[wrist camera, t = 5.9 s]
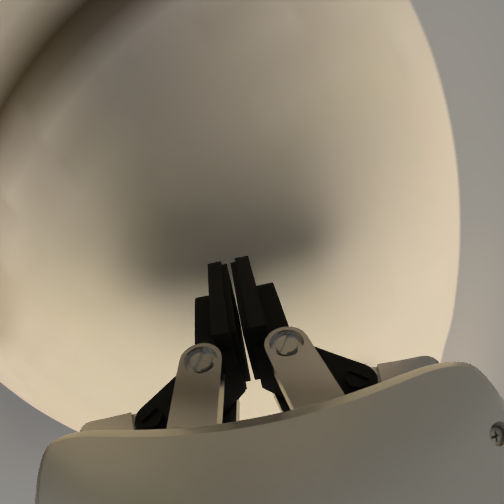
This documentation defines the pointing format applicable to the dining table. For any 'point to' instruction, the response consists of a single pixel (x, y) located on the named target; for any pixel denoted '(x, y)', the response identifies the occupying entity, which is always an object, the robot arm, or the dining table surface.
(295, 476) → the robot arm
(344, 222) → the dining table surface
